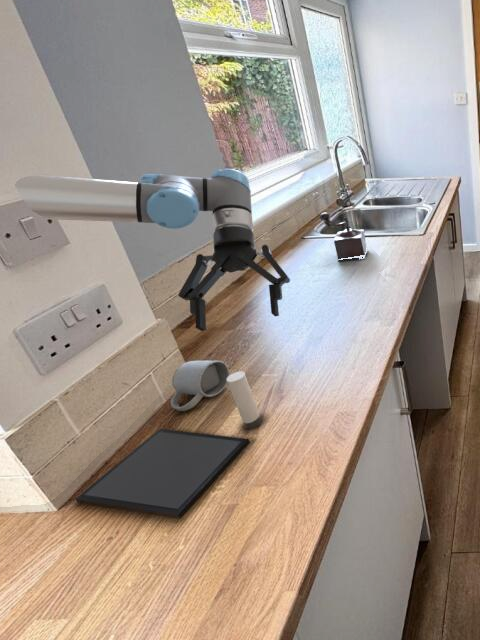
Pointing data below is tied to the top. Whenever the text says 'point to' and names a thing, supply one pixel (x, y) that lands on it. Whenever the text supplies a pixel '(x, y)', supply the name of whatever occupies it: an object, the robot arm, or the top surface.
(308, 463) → the top surface
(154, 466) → the tablet
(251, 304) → the top surface
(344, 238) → the black coffee grinder
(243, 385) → the light grey elongated piece
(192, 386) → the ceramic mug
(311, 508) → the top surface
